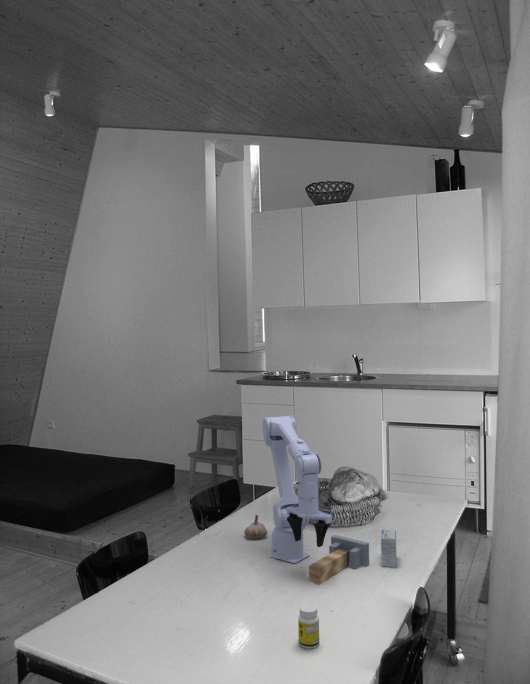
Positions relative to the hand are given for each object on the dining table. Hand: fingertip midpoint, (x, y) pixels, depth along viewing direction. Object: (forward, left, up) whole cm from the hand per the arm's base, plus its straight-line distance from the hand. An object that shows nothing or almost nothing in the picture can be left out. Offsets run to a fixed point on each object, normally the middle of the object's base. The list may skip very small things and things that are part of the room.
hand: (308, 543), depth 180 cm
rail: (+4, +5, -9) cm, 11 cm away
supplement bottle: (+21, -31, -10) cm, 39 cm away
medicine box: (+14, +22, -10) cm, 28 cm away
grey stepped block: (+4, +15, -9) cm, 18 cm away
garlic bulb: (-32, +15, -10) cm, 37 cm away
